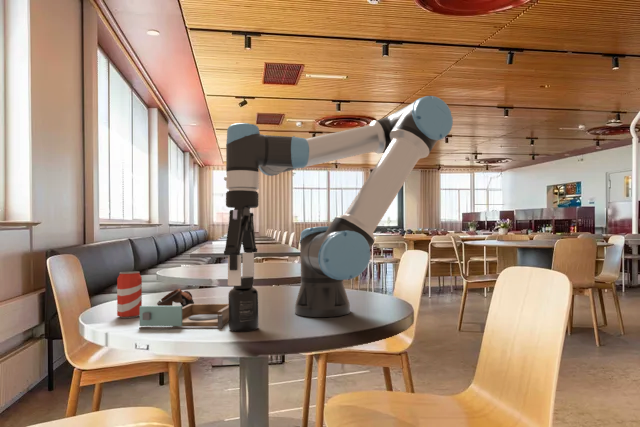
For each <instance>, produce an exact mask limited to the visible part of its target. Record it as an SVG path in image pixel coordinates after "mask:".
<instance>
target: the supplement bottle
mask: <svg viewBox="0 0 640 427" xmlns="http://www.w3.org/2000/svg"><path fill="white" fill-rule="evenodd" d="M254 285H255V282H254V279H253V277H252V276H242V275H241V285H240V286H233V287H232V288H231V289H230V290H229V292H228V296H227V297H228V304H229V321H228V328H229V331H231V332H236V333H237V332H239V333H241V332H242V333H243V332H246V333H247V332H252V331H256V330H258V329H259V325H260V322H259V321H260V318H259V313H260V312H259V291H258V290H257V288H255V287H254Z"/></svg>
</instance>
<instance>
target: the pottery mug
mask: <svg viewBox="0 0 640 427" xmlns="http://www.w3.org/2000/svg"><path fill="white" fill-rule="evenodd" d="M173 303H175V304H180V306H182V307H184V306H186V305H189V304H195V302H194V299H193V294H192V293H191V292H190V291H188V290H182V288H177V289H174V290H173V291H171V292H169V293H168V294H166V295H165V296H163V297H162V298H160V300H158V302H157V303H156V306H173Z"/></svg>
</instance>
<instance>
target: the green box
mask: <svg viewBox="0 0 640 427" xmlns="http://www.w3.org/2000/svg"><path fill="white" fill-rule="evenodd" d="M146 326H182V306H181V305H172V306H158V305H142V306H140V315H139V327H146Z"/></svg>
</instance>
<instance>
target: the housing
mask: <svg viewBox="0 0 640 427" xmlns="http://www.w3.org/2000/svg"><path fill="white" fill-rule="evenodd" d="M227 323H229V303H194V304H189V305H186V306H184V307H182V326H139V328H138V329H139V330H146V329H147V330H166V329H167V330H181V329H182V330H194V329H195V330H197V329H199V330H200V329H202V330H205V329H207V330H211V329H212V330H213V329H214V330H216V329H217V330H219V329H220V330H222V329H223V327H224V325H226V324H227Z"/></svg>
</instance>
